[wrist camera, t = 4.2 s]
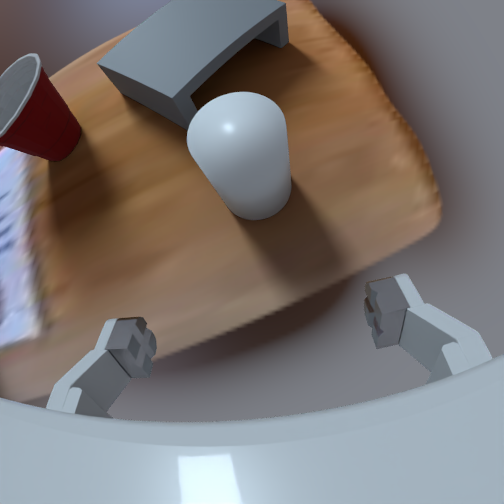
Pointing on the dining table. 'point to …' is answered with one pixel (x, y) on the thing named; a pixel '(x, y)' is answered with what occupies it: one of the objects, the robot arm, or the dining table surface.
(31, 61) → the plastic cup
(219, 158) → the white rounded domed part
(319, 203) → the dining table surface
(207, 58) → the shelf
